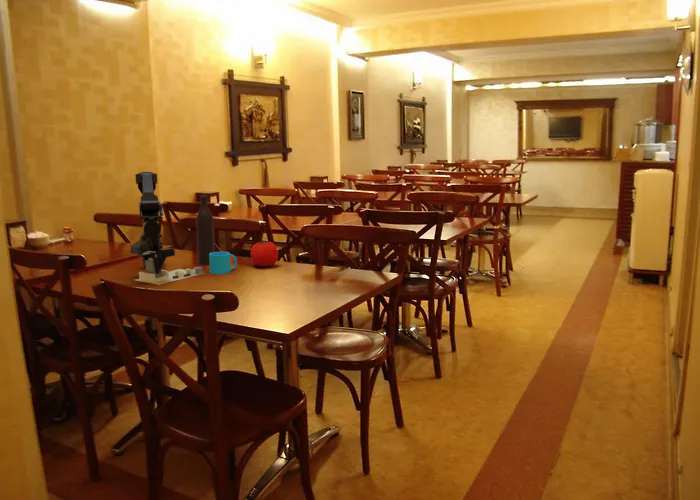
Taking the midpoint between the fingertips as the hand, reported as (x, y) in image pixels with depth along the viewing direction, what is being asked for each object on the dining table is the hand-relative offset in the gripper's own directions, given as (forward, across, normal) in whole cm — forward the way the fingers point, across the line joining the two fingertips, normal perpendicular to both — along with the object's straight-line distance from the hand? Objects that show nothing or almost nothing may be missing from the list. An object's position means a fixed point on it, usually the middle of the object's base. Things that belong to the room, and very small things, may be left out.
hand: (153, 272), depth 227 cm
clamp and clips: (+2, +7, +12) cm, 13 cm away
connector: (+1, 0, 0) cm, 1 cm away
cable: (+2, +6, +9) cm, 12 cm away
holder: (+2, 0, 0) cm, 2 cm away
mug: (+3, +12, +25) cm, 28 cm away
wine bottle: (+3, -4, +32) cm, 32 cm away
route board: (+3, +2, +6) cm, 7 cm away
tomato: (+3, +18, +43) cm, 47 cm away
